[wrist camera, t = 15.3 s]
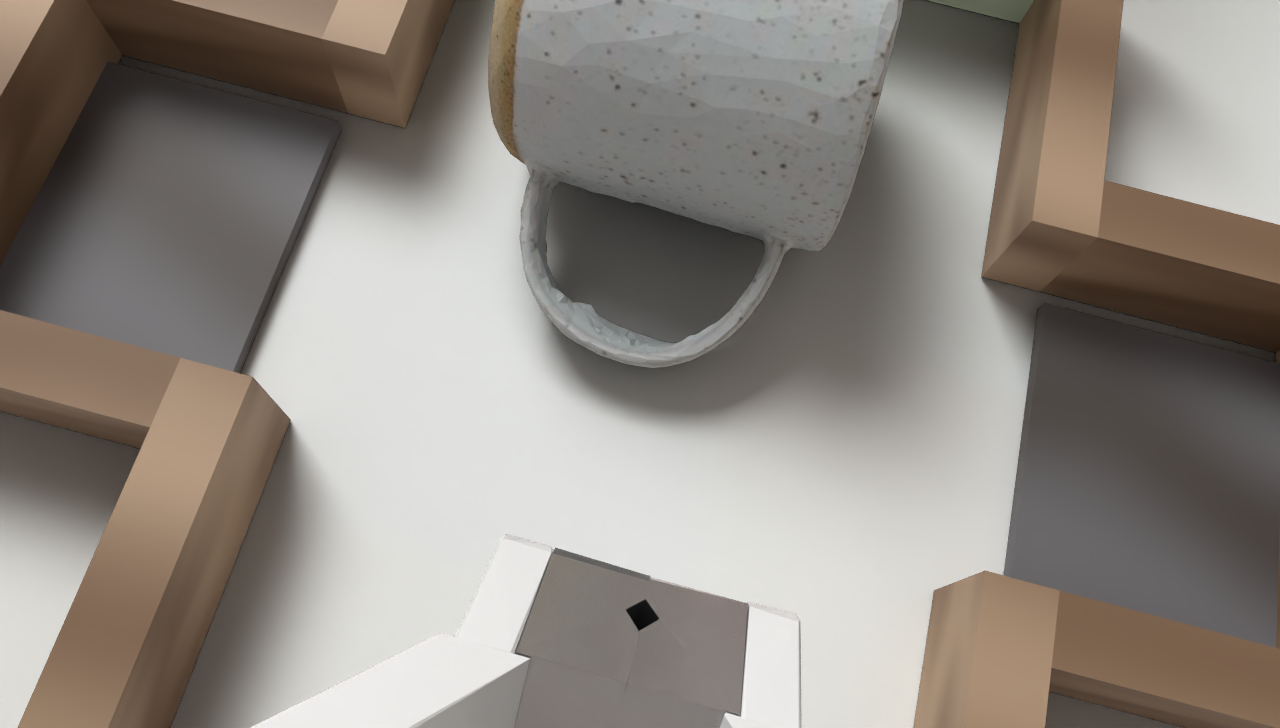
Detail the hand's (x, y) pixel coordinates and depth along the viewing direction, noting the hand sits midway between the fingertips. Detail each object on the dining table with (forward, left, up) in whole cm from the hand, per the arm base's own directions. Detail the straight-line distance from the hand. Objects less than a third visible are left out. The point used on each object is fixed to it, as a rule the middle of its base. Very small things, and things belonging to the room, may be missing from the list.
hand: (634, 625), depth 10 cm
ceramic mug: (+10, +8, -13) cm, 18 cm away
